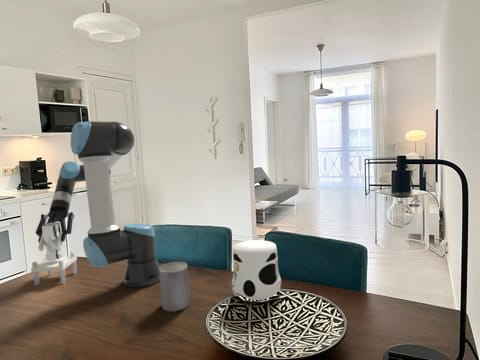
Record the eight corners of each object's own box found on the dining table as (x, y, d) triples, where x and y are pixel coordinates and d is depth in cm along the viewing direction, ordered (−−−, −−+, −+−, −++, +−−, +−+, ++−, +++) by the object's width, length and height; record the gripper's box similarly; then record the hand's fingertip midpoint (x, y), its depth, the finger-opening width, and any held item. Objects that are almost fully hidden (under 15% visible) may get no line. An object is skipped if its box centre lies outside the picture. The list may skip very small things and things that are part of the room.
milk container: (224, 293, 128) (221, 244, 126) (265, 282, 135) (263, 236, 134) (246, 312, 112) (244, 257, 110) (291, 299, 120) (289, 247, 118)
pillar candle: (173, 297, 127) (169, 256, 125) (196, 300, 122) (192, 259, 121) (155, 309, 118) (151, 266, 116) (179, 314, 114) (175, 269, 112)
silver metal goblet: (44, 262, 146) (40, 227, 144) (46, 257, 152) (42, 223, 151) (63, 259, 149) (59, 224, 147) (64, 255, 155) (60, 221, 153)
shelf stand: (78, 272, 158) (76, 251, 157) (65, 283, 145) (62, 261, 144) (48, 274, 158) (46, 253, 157) (33, 285, 145) (30, 263, 144)
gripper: (85, 206, 164) (76, 251, 150) (41, 209, 163) (28, 255, 148) (80, 197, 159) (70, 242, 144) (35, 200, 157) (20, 246, 142)
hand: (49, 248), depth 146 cm, fingers closed on silver metal goblet, 6 cm apart
